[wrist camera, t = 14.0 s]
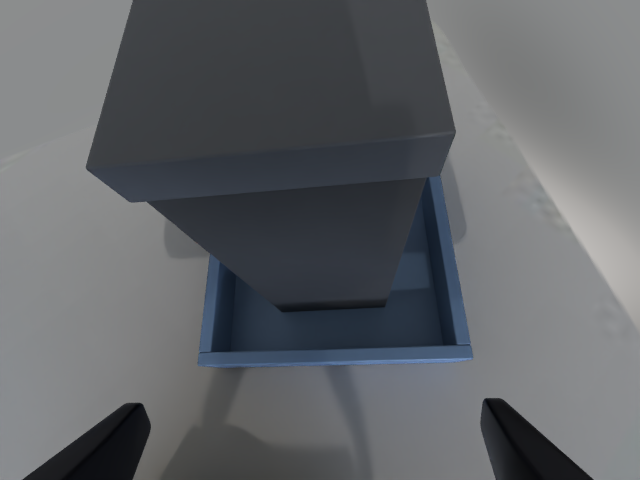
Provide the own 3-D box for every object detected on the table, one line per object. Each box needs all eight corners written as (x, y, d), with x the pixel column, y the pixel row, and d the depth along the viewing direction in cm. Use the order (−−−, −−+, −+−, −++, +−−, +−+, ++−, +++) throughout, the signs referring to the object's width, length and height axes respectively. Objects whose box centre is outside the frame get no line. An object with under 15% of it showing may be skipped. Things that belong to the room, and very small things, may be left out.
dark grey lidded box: (388, 310, 18) (457, 132, 5) (279, 315, 18) (83, 168, 5) (376, 193, 20) (400, -118, 8) (281, 201, 21) (153, -77, 8)
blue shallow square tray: (455, 362, 17) (474, 359, 14) (221, 367, 18) (196, 366, 15) (422, 160, 22) (431, 128, 19) (238, 175, 23) (221, 147, 20)
